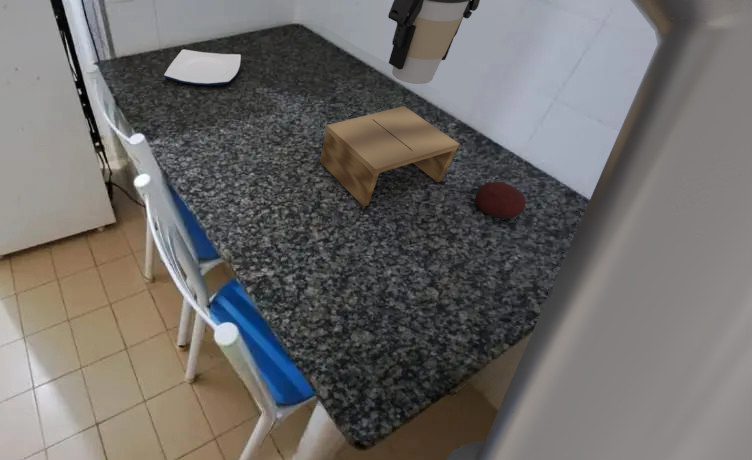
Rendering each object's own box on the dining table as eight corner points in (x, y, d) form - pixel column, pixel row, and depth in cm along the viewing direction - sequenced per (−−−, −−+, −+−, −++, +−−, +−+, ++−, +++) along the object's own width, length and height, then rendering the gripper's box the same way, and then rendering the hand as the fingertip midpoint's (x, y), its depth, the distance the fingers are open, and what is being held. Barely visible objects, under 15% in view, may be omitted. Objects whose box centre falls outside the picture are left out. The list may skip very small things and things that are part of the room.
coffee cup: (432, 64, 70) (469, -34, 59) (445, 88, 64) (489, -17, 53) (381, 62, 71) (408, -36, 60) (389, 85, 65) (421, -19, 54)
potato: (490, 230, 72) (507, 206, 68) (460, 201, 78) (474, 177, 73) (522, 222, 74) (540, 198, 69) (490, 194, 79) (505, 170, 75)
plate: (160, 85, 110) (159, 76, 108) (181, 56, 124) (180, 47, 122) (231, 93, 108) (231, 83, 106) (244, 62, 122) (244, 53, 120)
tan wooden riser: (441, 181, 82) (460, 143, 75) (363, 207, 76) (376, 168, 69) (391, 141, 92) (404, 105, 85) (319, 161, 86) (326, 124, 79)
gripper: (512, -124, 55) (448, 43, 71) (391, -119, 49) (351, 63, 65) (561, -118, 50) (480, 59, 66) (435, -112, 44) (380, 82, 60)
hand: (417, 61), depth 66 cm, fingers closed on coffee cup, 8 cm apart
